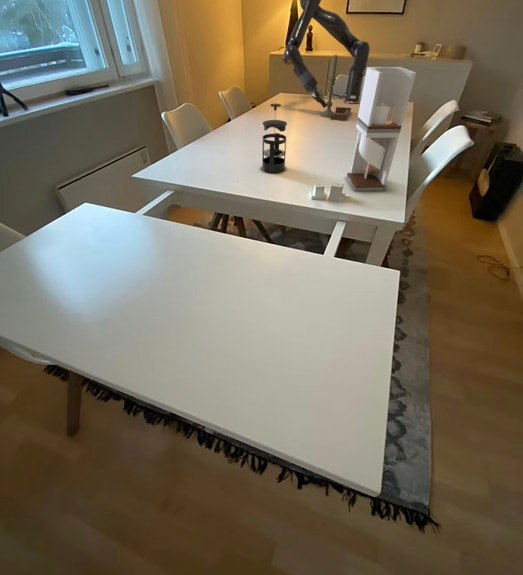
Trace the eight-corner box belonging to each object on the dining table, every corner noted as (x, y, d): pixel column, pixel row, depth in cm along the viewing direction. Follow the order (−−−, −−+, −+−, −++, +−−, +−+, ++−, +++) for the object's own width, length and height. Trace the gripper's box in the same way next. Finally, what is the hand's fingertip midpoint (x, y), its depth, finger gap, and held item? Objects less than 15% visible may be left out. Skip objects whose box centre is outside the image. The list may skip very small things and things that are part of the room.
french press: (282, 174, 123) (286, 108, 108) (259, 172, 124) (259, 106, 109) (287, 164, 132) (291, 100, 116) (265, 162, 133) (266, 99, 118)
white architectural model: (346, 178, 121) (367, 67, 98) (373, 177, 121) (400, 67, 98) (354, 191, 112) (379, 72, 89) (384, 190, 113) (416, 72, 90)
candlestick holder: (338, 115, 191) (347, 53, 171) (330, 118, 186) (338, 55, 166) (325, 112, 196) (333, 52, 176) (317, 115, 191) (323, 53, 171)
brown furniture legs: (330, 119, 184) (331, 113, 182) (335, 112, 197) (336, 106, 195) (346, 120, 182) (347, 115, 180) (350, 113, 195) (351, 107, 193)
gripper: (305, 84, 191) (322, 109, 196) (300, 87, 182) (318, 113, 187) (315, 74, 186) (332, 100, 191) (310, 77, 177) (328, 104, 182)
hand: (325, 106), depth 189 cm, fingers closed
